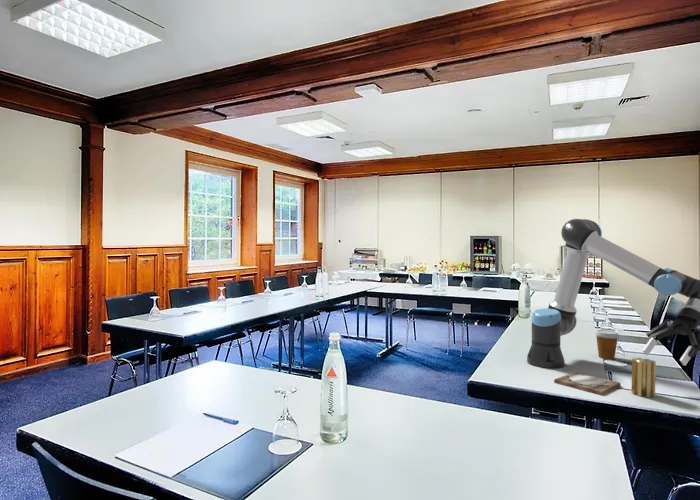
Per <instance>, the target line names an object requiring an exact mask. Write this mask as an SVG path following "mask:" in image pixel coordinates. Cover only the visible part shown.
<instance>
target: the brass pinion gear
mask: <svg viewBox="0 0 700 500" xmlns="http://www.w3.org/2000/svg"><path fill="white" fill-rule="evenodd" d="M656 370H657V362H656V360H651V359H649V358H641V357H636V358H634V357H633V358H631V394H632V395H637V397H645V398H648V399H649V398H655V397H656V379H657V378H656V376H657V375H656V373H657V371H656Z"/></svg>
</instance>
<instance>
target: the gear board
mask: <svg viewBox="0 0 700 500" xmlns="http://www.w3.org/2000/svg"><path fill="white" fill-rule="evenodd" d="M553 381H554V383H555V384H558V385H562V386H566V387H569V388H574V389H577V390H580V391H581V390H582V391H584V392H589V393H592V394H596V395H599V396H603V395H605V394H606V393H610V392H611V391H613V390H615V389H617V388H619V387H621V385H622V384H621V382H618V381H615V380H610V379H607V378H602V377H598V376H595V375H589V374H585V373H582V372H581V373H580V372H576V371H573V372H571V373H568V374H565V375H563V376H560V377H557V378H555V379H554V380H553Z"/></svg>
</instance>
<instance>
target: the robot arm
mask: <svg viewBox="0 0 700 500" xmlns="http://www.w3.org/2000/svg"><path fill="white" fill-rule="evenodd" d="M560 234H561V237H562V240H563V241H564V242H565V244H564V247H565V250H566V252H567V253H566V256H565V258H564V263H563V265H562V270H561V274H560V278H559V282H558V285H557V288H556V293H555V295H554V300H553V301H551V302H549V303H548V308H538V309H535V310H534V311H532V313H531V314H532V315H531V344H530V347H529V351H528V353H527V355H526V362H527V363H528V364H530V365H532V366H535V367H539V368H546V369H561V368H563V367H565V357H564V354H563V350H562V348H561V336H565V335H567V334H570V333H571V332H572V331H573V330H574V329H575V328H576V326H577V322H578V321H577V317H576V315H577V312H578V310H577V308H576V307H575V303H576V300H577V297H578V294H579V291H580V286H581V283H582V279H583V276H584V272H585V269H586V265H587V262H588V258H589V256H590V255H593V256H596V257H597V258H599V259H601V260H603V261H605V262H607V263H608V264H610V265H612V266H614V267H616V268H617V269H620V270H621V271H623V272H624V273H627V274H628V275H631V276H632V277H634V278H636V279H638V280H640V281H641V282H643V283H645V284H647V285H648V286H650V287H651V288H653V289H655V291H656V292H658V294H661V295H663V296H673V295H677V294H679V295H682V296H684V297H686V298H688V299H687V301H686V302H685V304H684V305H683V307H682V308H681V309H680V311H679V312H678V314H677V316H676V319H675V320H672V319H670V318H665V319H664V320H663V322H661V323H660V324H658V325H657V326H655V327H653V328H652V329H651V330H649V331H647V332H646V333H645V335H646V336H647V338H648V339H647V341H645V346H644V347H643V348H642V350H641V351H642V352H643V353H644V355H645V356H649V355H650V353H651V352H652V350H653V349H654V348H655V346H656V345H657V344H658V341H659V340H662V339H663V338H666V337H669V336H670V335H675V334H677V335H683V336H687V335H688V338H689V341H690V344H691V345H688V347H687V348H686V350H685V351H684V353H683V354H682V355H681V357H680V359H679V361H680V363H681V364H682V366H687V364H688V362H689V361H690V360H691V358H694V357H695V356H696V354H697V353H698V352H699V351H700V279H698V278H694V277H692V276H690V275H687V274H684V273H682V272H680V271H678V270H676V269H671V268H669V267H665V268H662V267H660V266H658V265H656V264H654V263H652V262H651V261H649V260H647V259H645V258H643V257H641V256H639V255H637V254H635V253H634V252H631V251H629V250H628V249H625V248H624V247H622V246H620V245H618V244H616V243H614V242H612V241H610V240H609V239H606V238H604V237H602V235H603V234H602V229H601V227H600V225H599V224H598V222H595V221H593V220H591V219H585V218H584V219H583V218H573V219H570V220H568V221H566V222H565V223H564V224H563V226H562V228H561V233H560ZM697 331H698V342H697V339H696V335H695V333H694V332H697Z"/></svg>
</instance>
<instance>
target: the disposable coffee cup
mask: <svg viewBox="0 0 700 500" xmlns="http://www.w3.org/2000/svg"><path fill="white" fill-rule="evenodd" d="M594 334H595V337H596V344H597V353H598V354H597V355H598V357H599V358H600V359H603V360H614V359H615V357H616V350H617V345H618V340H619V337H620V335H619V333H618V332H617V331H614V330H609V329H608V330H607V329H597V330H596V331H595V333H594Z"/></svg>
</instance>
